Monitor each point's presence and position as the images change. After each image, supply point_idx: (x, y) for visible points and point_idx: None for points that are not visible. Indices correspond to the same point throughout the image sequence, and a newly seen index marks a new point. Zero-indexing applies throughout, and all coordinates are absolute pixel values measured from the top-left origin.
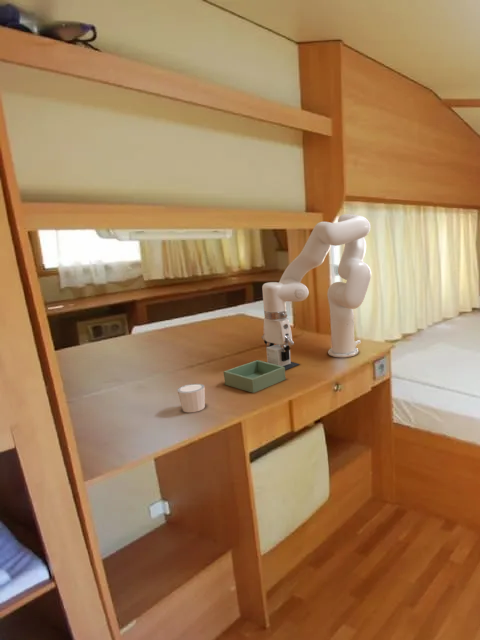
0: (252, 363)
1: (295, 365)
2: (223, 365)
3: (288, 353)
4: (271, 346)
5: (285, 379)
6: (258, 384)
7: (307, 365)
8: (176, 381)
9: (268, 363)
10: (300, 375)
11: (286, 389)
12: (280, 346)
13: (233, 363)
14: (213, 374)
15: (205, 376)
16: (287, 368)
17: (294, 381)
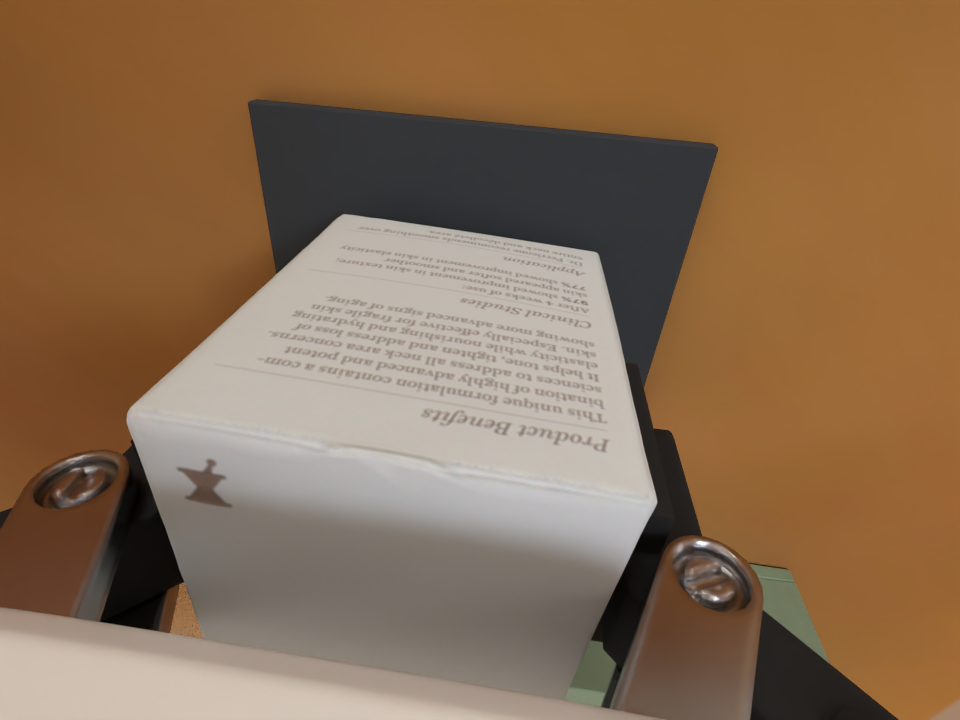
0: None
1: (689, 239)
2: (19, 486)
3: (690, 514)
4: (229, 622)
5: (789, 572)
6: None
7: (893, 94)
8: None
9: (580, 700)
10: (923, 460)
11: (901, 683)
12: (403, 583)
13: (11, 430)
14: (181, 608)
15: (182, 634)
16: (644, 379)
17: (911, 579)
